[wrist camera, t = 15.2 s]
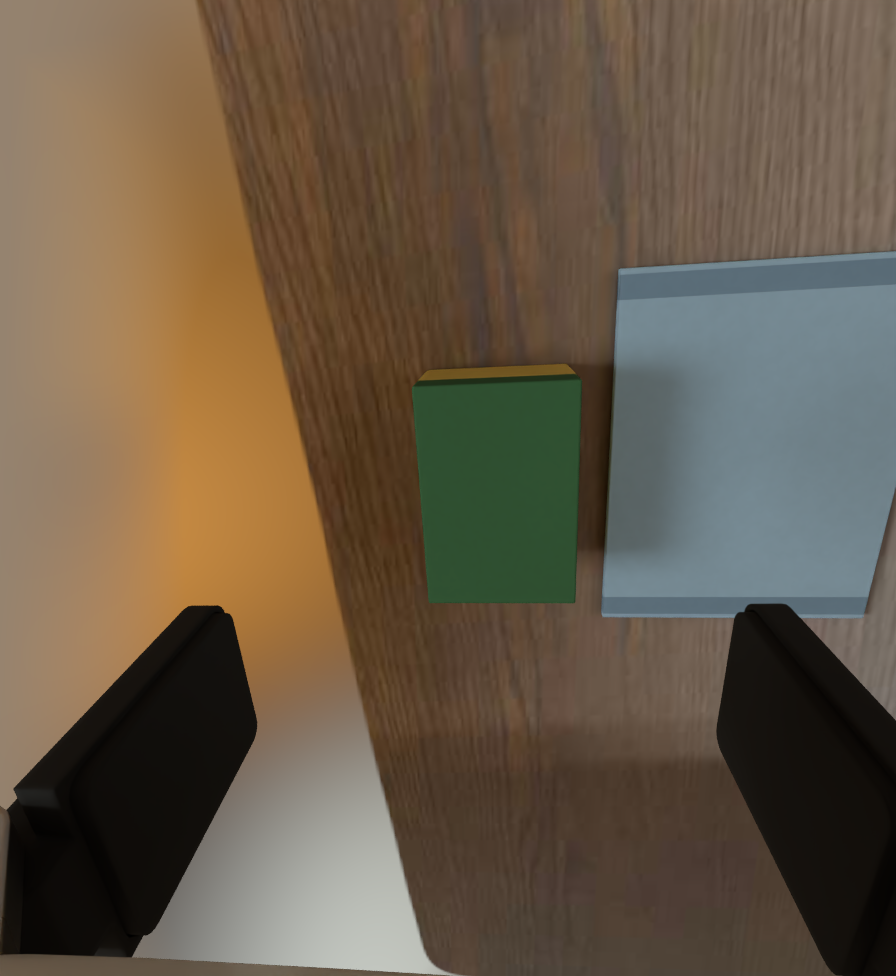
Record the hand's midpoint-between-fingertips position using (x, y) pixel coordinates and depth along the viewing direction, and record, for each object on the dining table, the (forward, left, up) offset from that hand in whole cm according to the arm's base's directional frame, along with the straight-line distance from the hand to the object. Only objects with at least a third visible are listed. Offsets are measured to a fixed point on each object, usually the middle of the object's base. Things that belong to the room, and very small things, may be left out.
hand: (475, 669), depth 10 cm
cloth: (+11, -1, -15) cm, 19 cm away
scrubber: (0, -1, -15) cm, 15 cm away
